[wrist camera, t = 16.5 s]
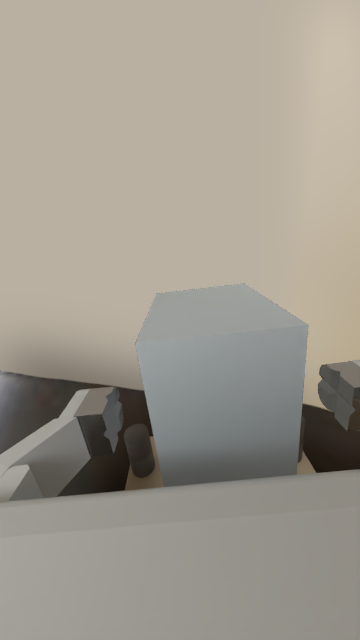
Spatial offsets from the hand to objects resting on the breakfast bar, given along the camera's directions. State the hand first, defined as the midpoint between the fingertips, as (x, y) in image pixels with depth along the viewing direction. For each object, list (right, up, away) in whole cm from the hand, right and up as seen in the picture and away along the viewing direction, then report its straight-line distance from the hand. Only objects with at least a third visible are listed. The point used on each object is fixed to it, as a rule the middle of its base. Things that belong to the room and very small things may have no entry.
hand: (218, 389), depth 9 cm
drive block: (+1, -8, +4) cm, 9 cm away
